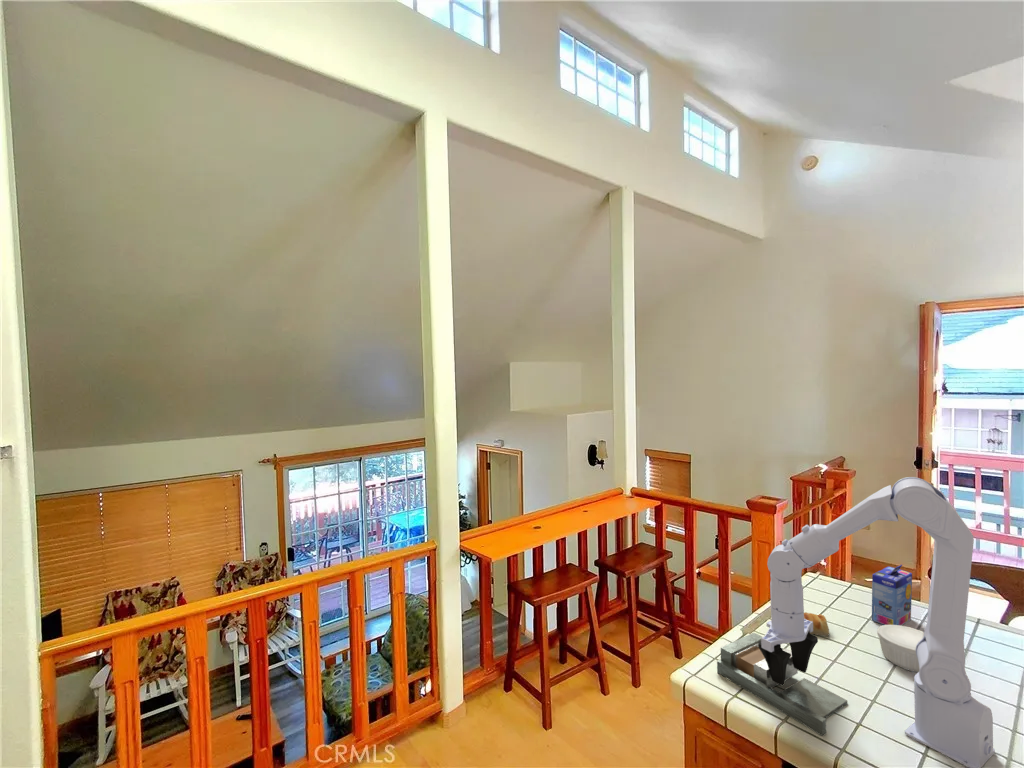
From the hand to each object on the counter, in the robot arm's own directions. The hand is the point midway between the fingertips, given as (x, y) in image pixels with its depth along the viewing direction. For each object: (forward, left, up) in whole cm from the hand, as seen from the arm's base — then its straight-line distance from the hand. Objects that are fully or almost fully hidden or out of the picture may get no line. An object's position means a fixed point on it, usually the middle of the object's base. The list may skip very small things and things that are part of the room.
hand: (789, 675), depth 94 cm
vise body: (+1, 0, -3) cm, 3 cm away
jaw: (+3, 0, -2) cm, 3 cm away
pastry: (+11, -27, -3) cm, 30 cm away
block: (+6, +1, -3) cm, 7 cm away
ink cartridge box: (+2, -49, -3) cm, 49 cm away
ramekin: (-8, -32, -3) cm, 33 cm away
